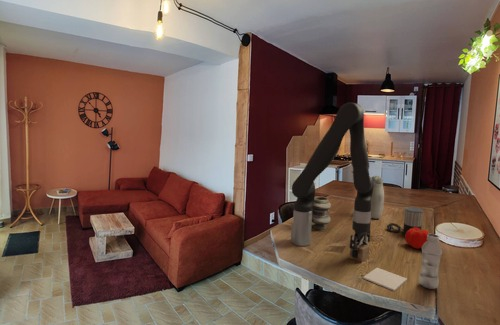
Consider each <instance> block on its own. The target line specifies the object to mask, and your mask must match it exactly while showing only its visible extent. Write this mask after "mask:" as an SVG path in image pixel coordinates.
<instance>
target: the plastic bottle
mask: <svg viewBox="0 0 500 325" xmlns="http://www.w3.org/2000/svg"><path fill="white" fill-rule="evenodd" d="M439 238H440V236H439V235H438V234H433V233H429V234H428V235H427V241H426V242H425V243H424V244H423V246H422V249H421V256H422V257H421V267H420V272H419V275H418V282H419V284H420V285H421V286H422V287H424V288H425V289H429V290H435V289H437V288H438V286H439V285H440V284H439V282H440V281H439V278H440V277H439V267H440V261H441V257H442V254H443V250H442V247H441V245H440V244H439V242H440V239H439Z"/></svg>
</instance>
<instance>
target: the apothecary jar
mask: <svg viewBox="0 0 500 325" xmlns="http://www.w3.org/2000/svg"><path fill="white" fill-rule="evenodd" d="M331 207H332V204H331V202H330V201H329V198H328V197H327V196H326V197H325V196H318V195H317V196H315V198H314V205H313V207H312V223H313V224H312V226H311V230H314V231H320V232H323V231H324V232H325V231H328V230H329V227H328V226H327V224H329V223H330V222H331V219H332V218H331V216H330V215H329V212H330V208H331Z"/></svg>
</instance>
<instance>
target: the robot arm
mask: <svg viewBox="0 0 500 325" xmlns="http://www.w3.org/2000/svg"><path fill="white" fill-rule="evenodd" d="M364 111H365V110H364V109H363V107H362V105H360V104H358V103H356V102H346V103H343V105H341V106H340V108H339V109H338V110H337V113H336V115H335V116H334V119H333V121H332V123H331V125H330V127H329V129H328V130H327V131H326V133H325V135H324V136H323V138H322V139H321V141H320V142H319V144H318V145H317V146H316V149H314V152H313V153H312V155H311V157H310V158H309V160H308V162H307V163H306V164H305V166H304V168H303V170H302V172H300V174H299V175H298V176H297V177H296V179H295V180H294V181H293V183H292V185H291V193H292V195H293V196H294V197H296V200H295V202H294V203H293V218H292V223H291V226H290V228H291V229H290V230H291V231H290V242H292V244H294V245H295V246H299V247H308V246H310V245H311V244H312V240H311V239H312V228H311V226H312V225H313V224H312V223H313V222H312V207H313V205H314V198H315V197H316V196H315V194H316V186H315V185H316V183H315V180H316V179H317V178H318V177H319V175H321V174H322V173H323V172H324V171H325V170H326V169H327V168H328V167H329V165H331V163H332V161H333V160H334V159H335V157H336V156H337V154H338V152H339V150H340V147H341V145H342V142H343V139H344V137H345V135H346V134H347V132H348V131H349V138H350V139H349V140H350V141H349V142H350V143H349V147H350V148H349V149H350V150H349V153H350V159H351V166H352V175H353V177H352V180H353V185H354V188H355V190H356V196H355V199H354V207H353V212H352V213H353V214H352V224H351V226H352V230H353V231H354V235H353V234H351V235H350V241H349V249H350V248H351V249H353V250H352V257H354V258H357V257H358V248H359V246H360V245H361V243H362V244H365V245H368V246H369V243H370V242H371V223H372V218H371V199H372V194H373V188H374V182H373V179H372V176H370V170H369V169H370V162H369V161H370V160H369V155H368V150H367V144H366V137H365V123H364V122H365V119H364V118H365V115H364V114H365V113H364ZM357 242H358V243H357ZM352 244H353V245H352ZM356 245H357V247H356Z"/></svg>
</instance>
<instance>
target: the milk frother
mask: <svg viewBox="0 0 500 325" xmlns="http://www.w3.org/2000/svg"><path fill="white" fill-rule="evenodd" d="M423 213H424V210H423V209H422V208H419V207H413V206H406V207H404V219H403V220H404V221H403V228H402V227H401V226H400V225H399V224H397V223H393V222H390V223H388V224H387V225H386V229H387V230H388V231H390V232H393V233H400V231H401V230H402V234H403V235H404V236H405V235H406V233H407V231H408V230H409V229H413V228H414V227H417V228H419V229H420V230H422V226H423V225H422V223H423ZM395 227H396V228H397V229H396V230H395V229H394V228H395Z"/></svg>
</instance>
